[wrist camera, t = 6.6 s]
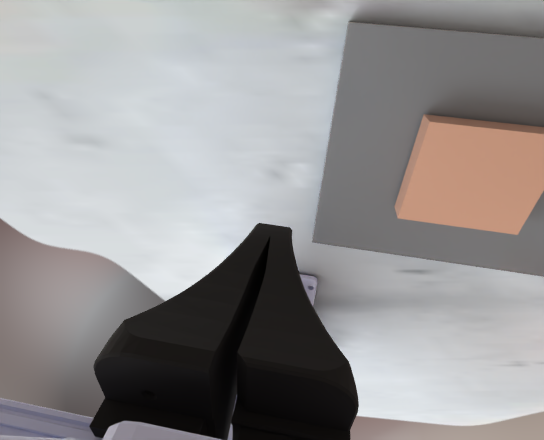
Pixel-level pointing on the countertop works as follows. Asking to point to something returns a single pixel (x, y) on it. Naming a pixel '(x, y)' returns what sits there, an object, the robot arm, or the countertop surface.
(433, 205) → the tile
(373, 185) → the slate board
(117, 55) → the countertop surface
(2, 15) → the countertop surface
